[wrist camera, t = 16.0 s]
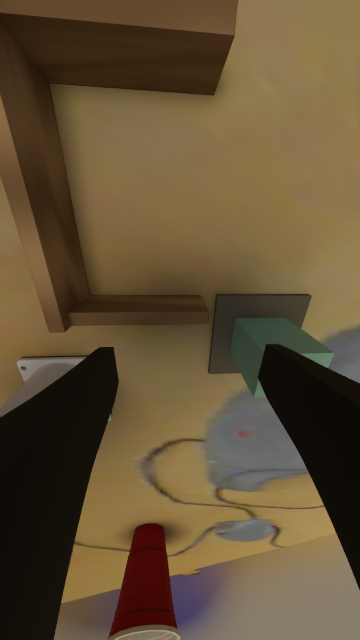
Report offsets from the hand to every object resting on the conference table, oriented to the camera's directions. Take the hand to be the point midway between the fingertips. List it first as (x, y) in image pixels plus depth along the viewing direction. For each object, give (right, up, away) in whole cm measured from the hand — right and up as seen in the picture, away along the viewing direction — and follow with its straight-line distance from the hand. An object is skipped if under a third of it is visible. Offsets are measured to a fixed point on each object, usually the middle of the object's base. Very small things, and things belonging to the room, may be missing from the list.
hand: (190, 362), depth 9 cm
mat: (+7, 0, +11) cm, 13 cm away
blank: (+7, 0, +10) cm, 13 cm away
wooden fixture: (-4, +10, +5) cm, 12 cm away
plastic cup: (-7, -39, +29) cm, 49 cm away
